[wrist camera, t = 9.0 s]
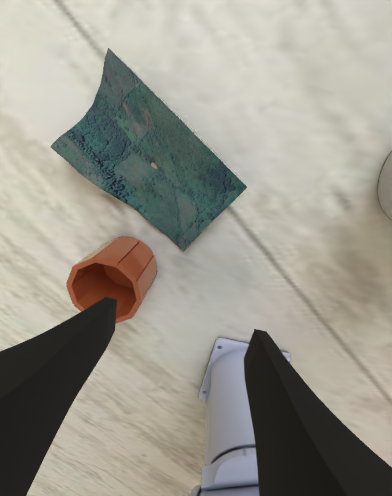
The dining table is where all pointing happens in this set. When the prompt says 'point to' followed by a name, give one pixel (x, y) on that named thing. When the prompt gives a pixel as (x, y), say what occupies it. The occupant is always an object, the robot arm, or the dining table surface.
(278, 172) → the dining table surface
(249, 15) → the dining table surface
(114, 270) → the faceted terracotta tumbler
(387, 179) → the white cylinder
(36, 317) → the dining table surface
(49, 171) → the dining table surface
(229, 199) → the terrain model
